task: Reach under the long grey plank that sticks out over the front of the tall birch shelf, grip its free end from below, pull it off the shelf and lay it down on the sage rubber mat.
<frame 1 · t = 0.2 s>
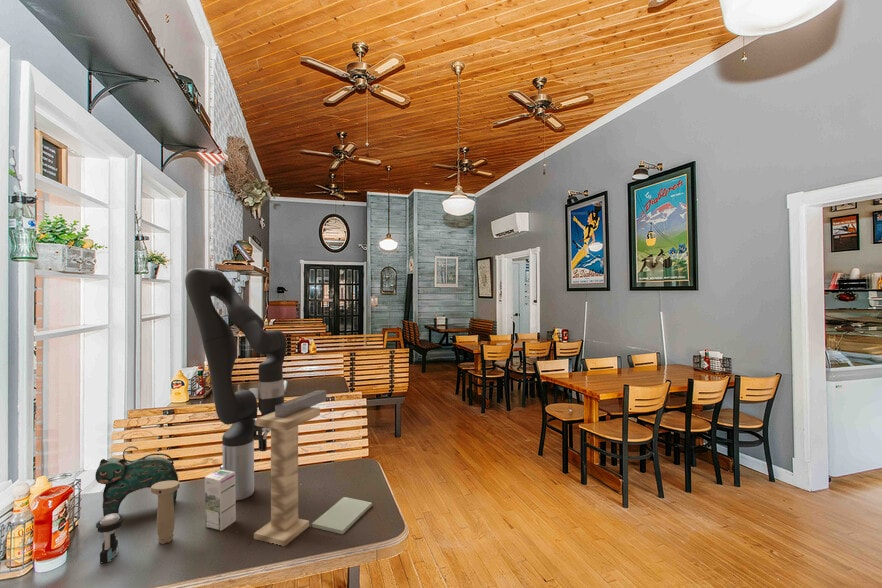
hand: (272, 445, 132), 17 cm above the table, tool pointing down, fingers open, 8 cm apart
syrup box: (220, 525, 119), on the table
stand: (287, 528, 117), on the table
handle: (165, 541, 111), on the table
mat: (343, 515, 124), on the table
ceramic cat: (139, 511, 126), on the table
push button: (111, 556, 105), on the table
long grey plank: (302, 407, 123), point 32 cm above the table, touching stand
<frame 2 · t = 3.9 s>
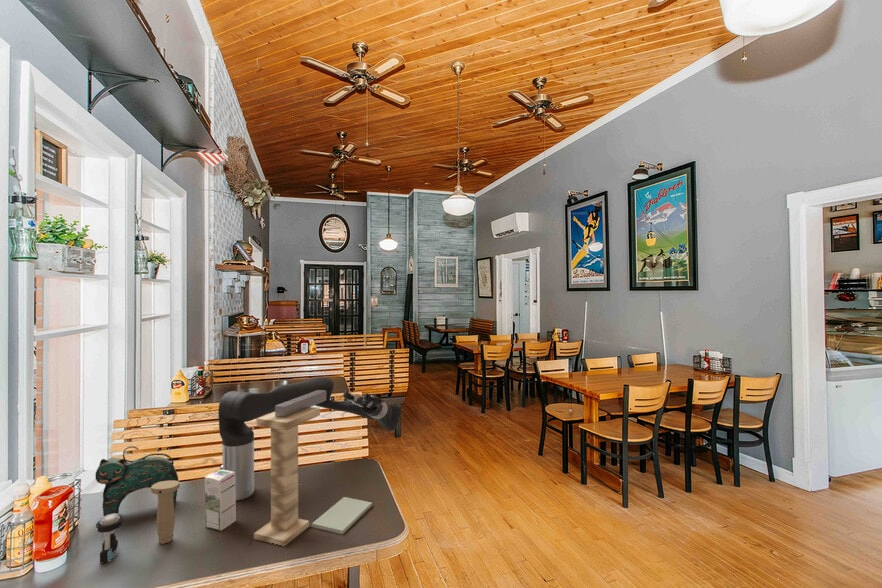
hand: (354, 394, 149), 29 cm above the table, tool pointing upward, fingers open, 8 cm apart
nothing on the table moved.
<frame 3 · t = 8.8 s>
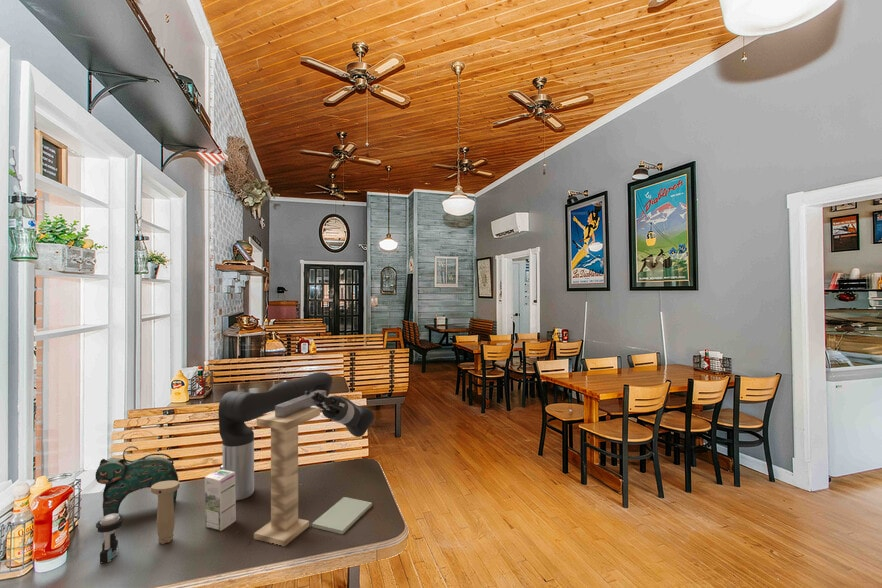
hand: (310, 394, 126), 35 cm above the table, tool pointing upward, fingers closed on long grey plank, 3 cm apart
long grey plank: (302, 407, 123), point 32 cm above the table, touching gripper, stand
everything else where it was.
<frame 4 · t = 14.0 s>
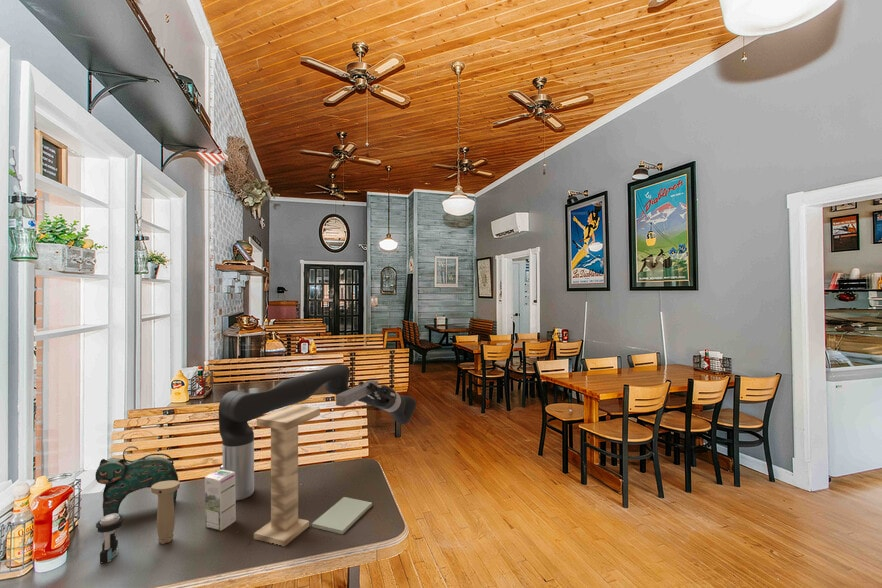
hand: (364, 384, 133), 36 cm above the table, tool pointing upward, fingers closed on long grey plank, 3 cm apart
long grey plank: (358, 397, 130), point 33 cm above the table, touching gripper
everything else where it was.
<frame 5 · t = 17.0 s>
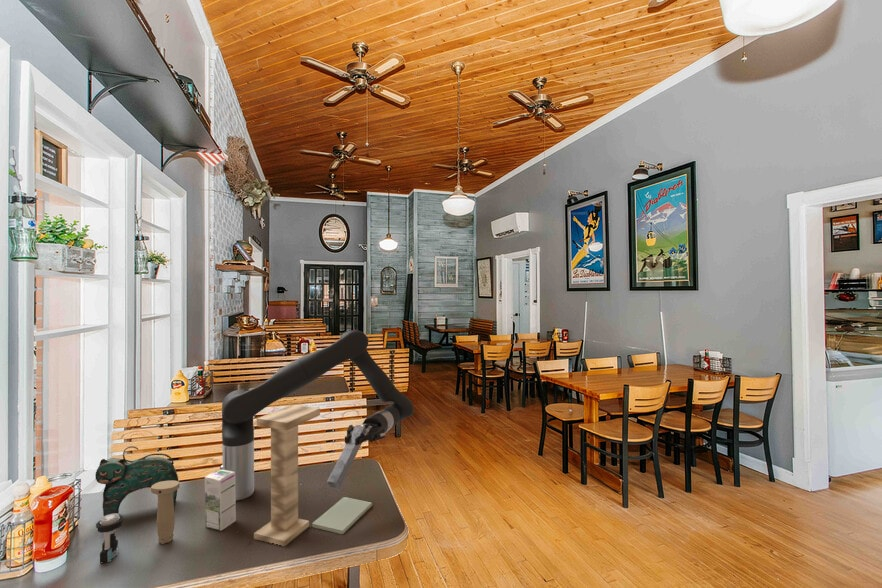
hand: (351, 441, 127), 21 cm above the table, tool horizontal, fingers closed on long grey plank, 3 cm apart
long grey plank: (350, 458, 127), point 16 cm above the table, tilted 36°, touching gripper
everything else where it was.
when the fingers open (11 cm above the table, at t = 19.4 s): long grey plank drops 5 cm, resting on mat.
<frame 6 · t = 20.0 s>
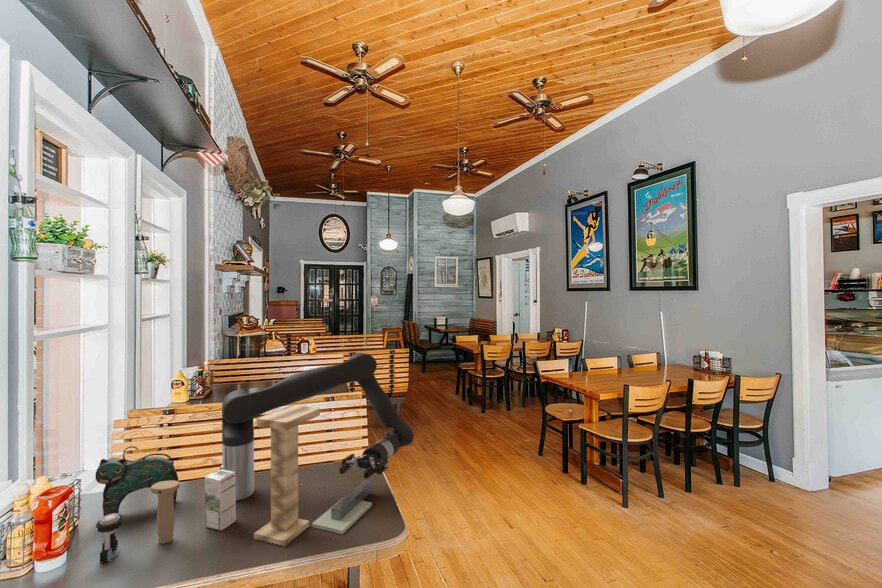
hand: (352, 473, 128), 11 cm above the table, tool horizontal, fingers open, 8 cm apart
long grey plank: (353, 503, 129), point 1 cm above the table, touching mat
everything else where it was.
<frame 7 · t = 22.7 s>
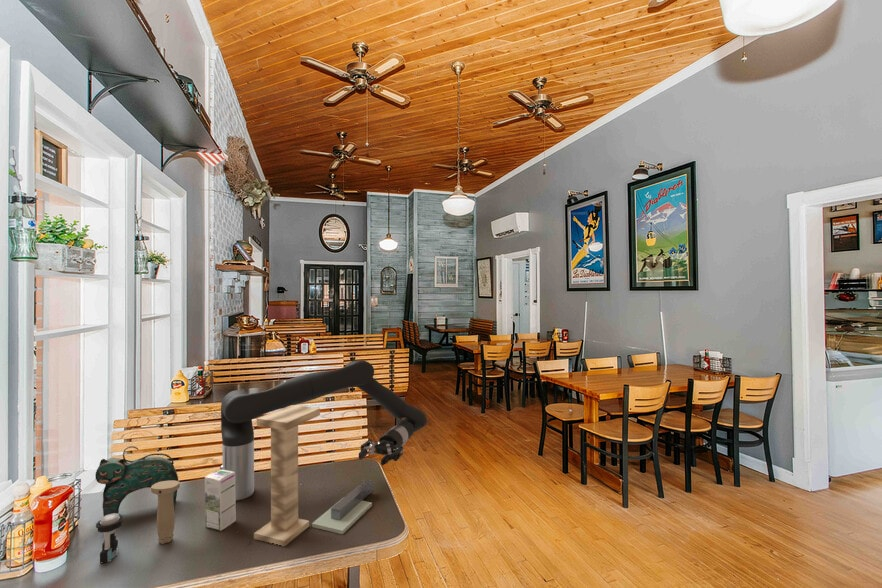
hand: (370, 459, 139), 10 cm above the table, tool horizontal, fingers open, 8 cm apart
nothing on the table moved.
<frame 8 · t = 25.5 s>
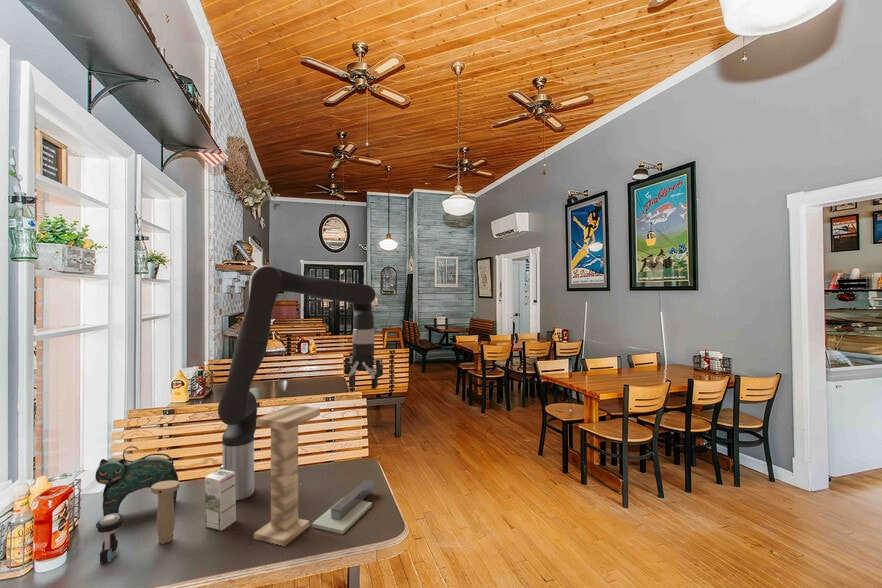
hand: (363, 387, 147), 32 cm above the table, tool pointing down, fingers open, 8 cm apart
nothing on the table moved.
at the end: long grey plank inside the target area (5.0 cm from its centre), point 1.0 cm above the table; long grey plank touching mat; the gripper is holding nothing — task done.
